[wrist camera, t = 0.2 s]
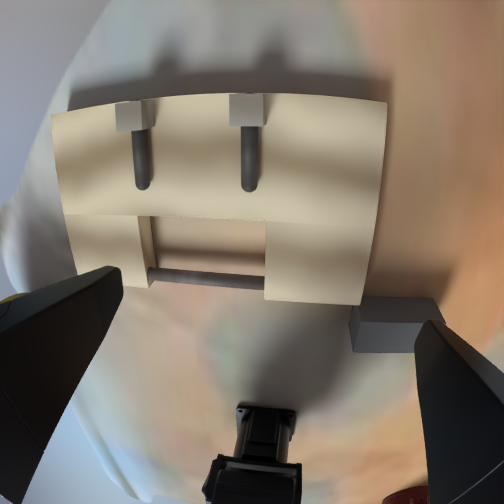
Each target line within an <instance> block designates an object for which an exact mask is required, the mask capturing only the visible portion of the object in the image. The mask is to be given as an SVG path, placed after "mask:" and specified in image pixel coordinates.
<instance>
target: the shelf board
mask: <svg viewBox="0 0 504 504" xmlns="http://www.w3.org/2000/svg"><path fill="white" fill-rule="evenodd" d="M386 120H387V103H385V102H378V101H371V100H363V99H355V98H345V97H335V96H323V95H308V94H288V93H215V94H195V95H181V96H169V97H158V98H149V99H140V100H132V101H125V102H118V103H112V104H105V105H99V106H94V107H88V108H83V109H78V110H73V111H68V112H63V113H59V114H54V115H51V124H52V136H53V146H54V155H55V163H56V170H57V177H58V184H59V190H60V196H61V202H62V208H63V213H64V218H65V223H66V228H67V232H68V237H69V241H70V246H71V250H72V254H73V258H74V262H75V266H76V270H77V274H78V275H81V274H84V273H86V272H89V271H92V270H95V269H98V268H101V267H104V266H107V265H109V266H114V267H118V268H120V270H121V273H122V282H123V285H125V286H133V287H142V288H149V287H150V286H151V284H152V283H153V281H154V280H156V281H165V282H175V283H186V284H196V285H207V286H218V287H230V288H242V289H254V290H264V300H277V301H291V302H306V303H323V304H341V305H360V303H361V298H362V293H363V289H364V284H365V279H366V274H367V269H368V263H369V258H370V252H371V247H372V241H373V235H374V228H375V222H376V215H377V208H378V201H379V193H380V185H381V177H382V167H383V157H384V147H385V134H386ZM150 216H165V217H192V218H215V219H236V220H256V221H266V246H265V276H253V275H240V274H227V273H214V272H202V271H190V270H178V269H167V268H157V266H156V260H155V253H154V245H153V238H152V230H151V222H150Z"/></svg>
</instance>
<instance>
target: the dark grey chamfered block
mask: <svg viewBox="0 0 504 504" xmlns="http://www.w3.org/2000/svg"><path fill="white" fill-rule="evenodd" d="M427 319H435V320H439V321H441V322H442V323H443V324H445V325H446V322H445V320H444V318H443V316H442V314H441V312H440V310H439V308H438V306H437V305H436V303H435V301H434V299H429V298H401V297H378V296H362V298H361V303H360V305H353V308H352V313H351V317H350V322H349V330H350V336H351V343H352V349H353V352H359V353H414V343H415V340H416V338H417V336H418V334H419V332H420V330H421V328H422V325H423V323H424V322H425V320H427Z"/></svg>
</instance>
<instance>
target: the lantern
mask: <svg viewBox="0 0 504 504" xmlns="http://www.w3.org/2000/svg"><path fill="white" fill-rule="evenodd" d="M382 504H429V486H422V487H414V488H410V489H407V490H403V491H399V492H397V493H394V494H392V495H390V496H388V497H386V498H385V499H384V500H383V502H382Z"/></svg>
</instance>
